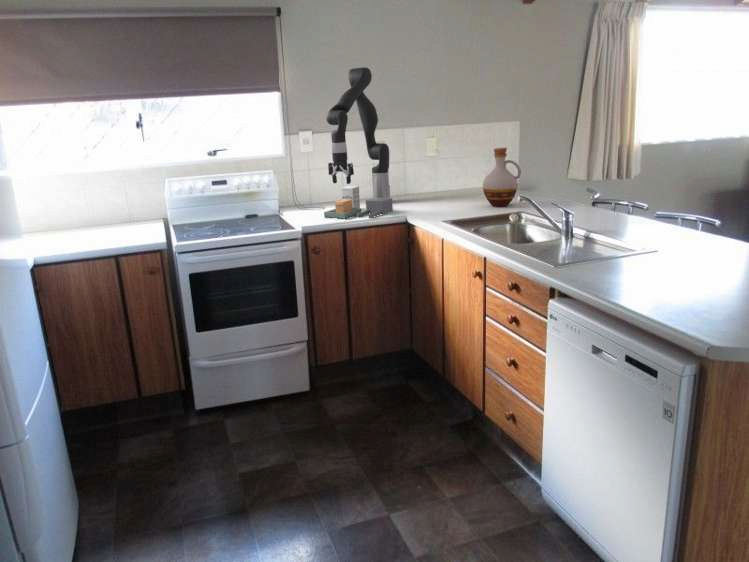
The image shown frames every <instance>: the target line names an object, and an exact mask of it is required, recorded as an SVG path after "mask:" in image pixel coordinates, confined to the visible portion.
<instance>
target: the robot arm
mask: <svg viewBox="0 0 749 562" xmlns="http://www.w3.org/2000/svg"><path fill="white" fill-rule="evenodd" d="M348 71H349V72H348V81H349V85H350V88H349V89H347V90H346V91H344V92H343V93H342V95H341V97H340V99H339V100H338V101H337V103H336V104H334V106H333V107H331V108H330V109H329V111H328V112H327V114H326V122H327V124H328V125H330V126H337V129H334V130H332V131H331V132H330V133H331V135H330V136H331V137H330V138H331V154H332V155H331V156H332V161H333V162H329V163H328V165H327V167H328V175H329V176H331V177H332V178H331V179H332V183H333V184H338V183H337V182H338V178H337V174H338V173H340V172H341V173H343V174H344V175H345V176H346V177H345V179H346V184H347V185H350V184H351V182H352V179H351V177H352V176H353V175H355V172H354V165H353V164H354V163H352V162H350V163H348V147H347V141H346V140H347V139H346V131H347V126H348V121H349V119H348V118H349V117H348V113H349V112H350V110H351V109H352V107H353V105H354V103H356V106H357V109H358V114H359V118H360V121H361V125H362V129H363V132H364V133H363V134H364V137H365V138H364V139H365V143H366V150H367V155H368V157H369V158H370V160H373V161H378V164H377V165H376V166H373V167H372V168H371V176H372V177H371V178H372V194H373V196H372V198H376V197H380V198H391V186H390V179H389V178H390V176H389V175H390V174H389V172H390V171H389V168H390V148H389V146H388V144H387V143H383V142H377V141H376V137H375V133H376V130H377V127H378V122H379V116H378V113H377V109H376V107H375V105H374V103H373V102H372V101H371V99H369V98H368V97H367V95H366V94H365V92H364V91H365V89H366V88H368V87H369V85H370V83H371V81H372V78H373V76H372V71H371V69H370V68H368V67H355V68H350V70H348Z"/></svg>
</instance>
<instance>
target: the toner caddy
mask: <svg viewBox="0 0 749 562" xmlns="http://www.w3.org/2000/svg"><path fill="white" fill-rule="evenodd" d="M334 206H335V207H334V209H336V213H346V212H349V211H353V207H352V200H351V199H343V200H342V199H339V200H337V201H334Z"/></svg>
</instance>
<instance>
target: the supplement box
mask: <svg viewBox="0 0 749 562" xmlns="http://www.w3.org/2000/svg"><path fill="white" fill-rule="evenodd" d="M360 197H361V196H360V186H354V185H346V186H343V187H341V200H343V199H351V200H352V207H353V208H361V200H360V199H361V198H360Z"/></svg>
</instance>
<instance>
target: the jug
mask: <svg viewBox="0 0 749 562" xmlns="http://www.w3.org/2000/svg"><path fill="white" fill-rule="evenodd" d="M507 149H508V148H507V147H496V148H493V151H494V153H493V156H494V159H495V167H494V168H493V169H492V171H490V172H489V173H488V174H487V175H486V176H485V177H484V179H483V182H482V190H483V195H484V196H485V199H486V200H487V201H488V203H489V204H490V205H491V206H492V207H494V208H504V207H508V206H509V205H510V203H511V202H512V201H513V200H514V198H515V196H516V193H517V191H518V180H517V179H520V177H521V175H522V169H521V167H520V165H519V164H518V163H517V162H516V161H514V160H511V159H507V160H506V157H507V155H508V153H507ZM509 163H510V164H512V165H514V166H515V167H516V169H517V175H514V174H512V173H511V172H510V171H509V170H508V169H507V164H509Z"/></svg>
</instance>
